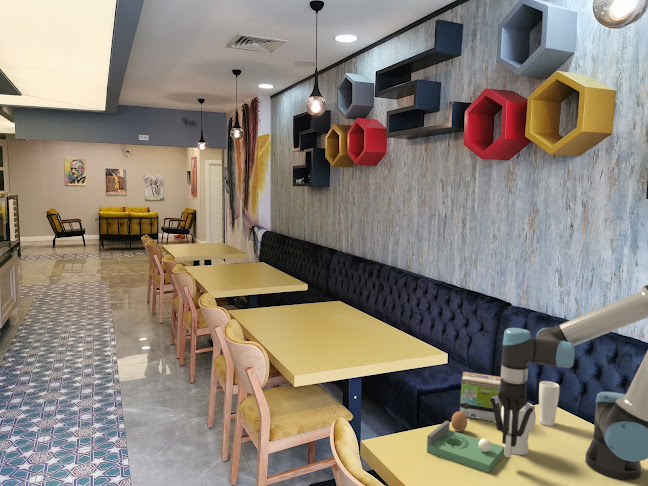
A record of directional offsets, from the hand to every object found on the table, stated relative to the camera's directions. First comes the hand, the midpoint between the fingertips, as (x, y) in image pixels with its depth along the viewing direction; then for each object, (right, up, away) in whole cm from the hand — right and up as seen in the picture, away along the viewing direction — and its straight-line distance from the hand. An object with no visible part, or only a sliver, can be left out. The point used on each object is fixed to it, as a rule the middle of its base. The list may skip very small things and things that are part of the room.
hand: (508, 454), depth 156 cm
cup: (+7, -3, +12) cm, 14 cm away
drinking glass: (+26, -2, +34) cm, 43 cm away
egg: (-9, -2, +25) cm, 26 cm away
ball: (-6, +1, +4) cm, 7 cm away
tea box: (+3, -1, +39) cm, 39 cm away
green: (-11, -3, +8) cm, 14 cm away
